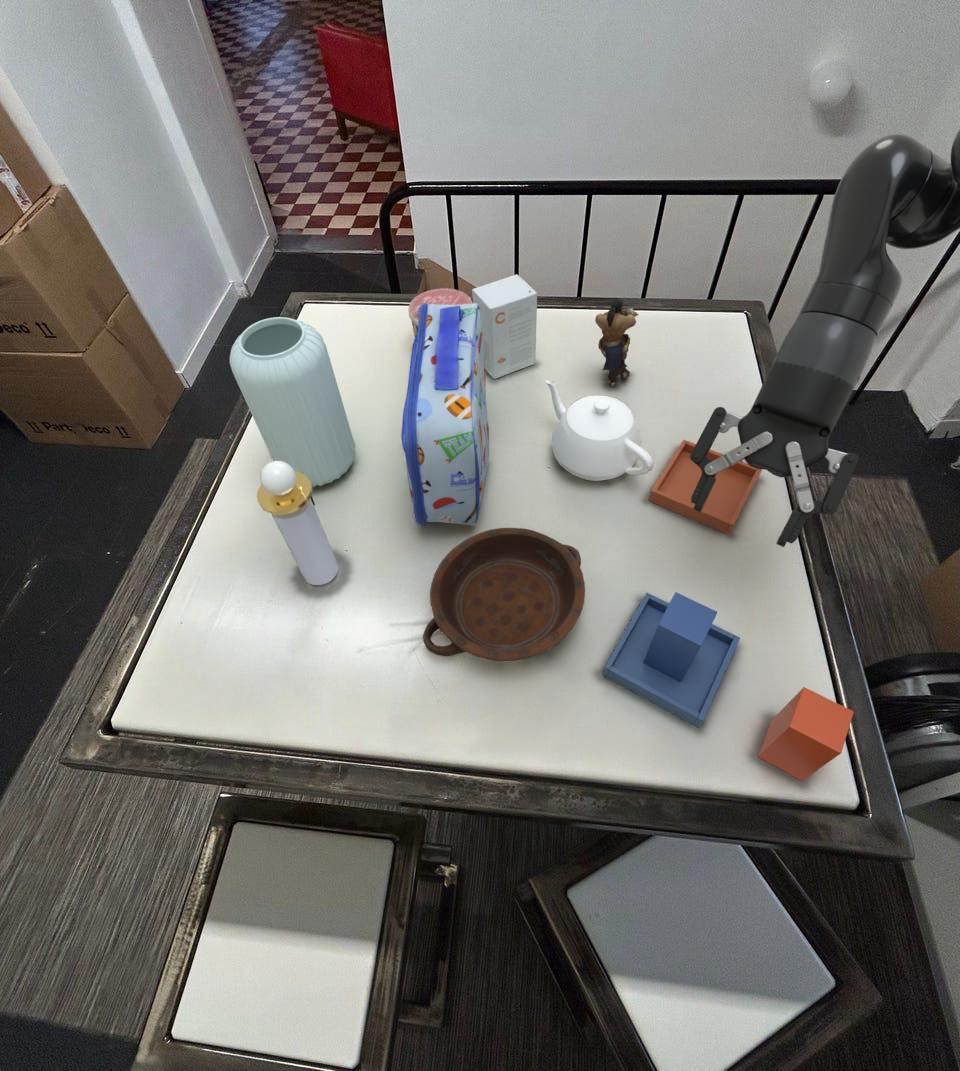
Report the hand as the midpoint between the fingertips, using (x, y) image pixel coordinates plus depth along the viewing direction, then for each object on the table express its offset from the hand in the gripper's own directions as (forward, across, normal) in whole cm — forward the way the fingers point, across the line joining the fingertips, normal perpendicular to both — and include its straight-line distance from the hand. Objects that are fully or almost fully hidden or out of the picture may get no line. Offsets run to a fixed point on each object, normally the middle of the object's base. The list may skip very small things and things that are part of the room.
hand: (737, 527), depth 62 cm
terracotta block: (+19, +14, +1) cm, 23 cm away
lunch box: (+8, -38, +12) cm, 41 cm away
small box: (-9, -44, +29) cm, 54 cm away
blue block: (+16, 0, +3) cm, 17 cm away
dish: (+20, -19, +1) cm, 28 cm away
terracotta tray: (-2, -6, +22) cm, 23 cm away
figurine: (-11, -27, +32) cm, 43 cm away
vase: (+15, -55, +5) cm, 58 cm away
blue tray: (+17, 0, +4) cm, 17 cm away
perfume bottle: (+25, -42, -5) cm, 50 cm away
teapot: (0, -22, +21) cm, 30 cm away
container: (-7, -55, +28) cm, 62 cm away
